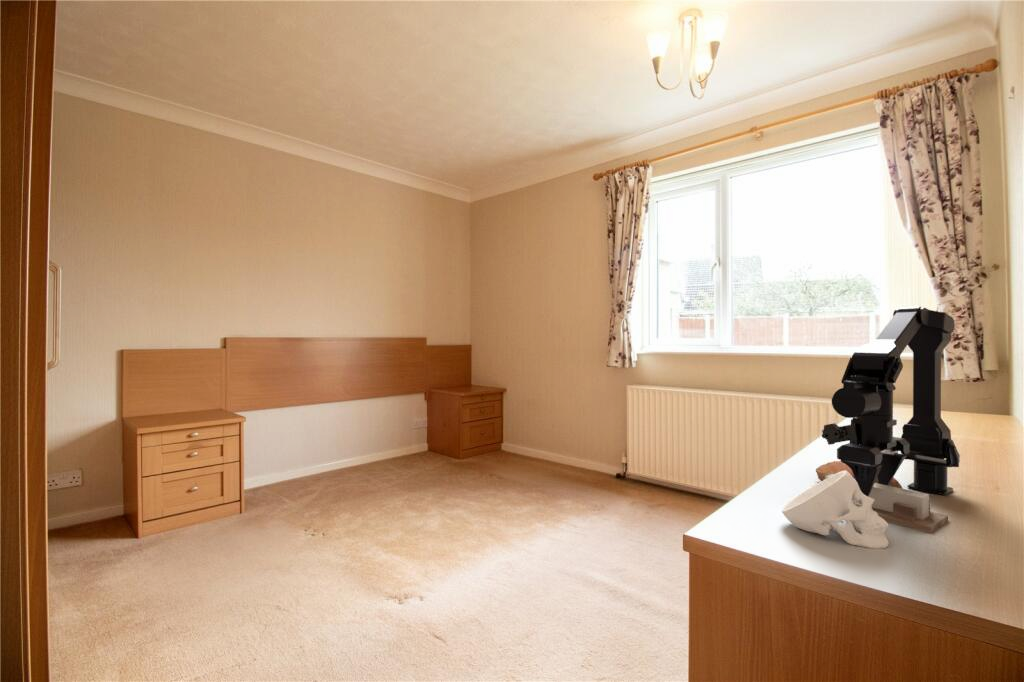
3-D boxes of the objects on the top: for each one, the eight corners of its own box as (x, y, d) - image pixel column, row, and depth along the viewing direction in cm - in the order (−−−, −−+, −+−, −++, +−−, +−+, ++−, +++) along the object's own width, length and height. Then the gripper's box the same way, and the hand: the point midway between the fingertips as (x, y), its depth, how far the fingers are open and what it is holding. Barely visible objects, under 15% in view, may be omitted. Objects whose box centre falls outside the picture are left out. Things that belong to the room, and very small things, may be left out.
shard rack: (828, 491, 105) (828, 476, 105) (948, 520, 88) (948, 502, 88) (807, 500, 99) (807, 483, 99) (930, 533, 83) (930, 513, 83)
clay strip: (832, 492, 101) (832, 473, 101) (928, 515, 88) (928, 494, 88) (824, 495, 99) (825, 476, 99) (922, 519, 86) (922, 497, 86)
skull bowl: (902, 551, 72) (849, 476, 76) (811, 575, 80) (768, 505, 84) (904, 530, 80) (856, 462, 84) (821, 553, 88) (781, 490, 92)
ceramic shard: (804, 451, 121) (870, 463, 118) (801, 476, 121) (868, 489, 117) (830, 458, 107) (906, 471, 104) (827, 486, 106) (903, 501, 103)
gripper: (847, 405, 106) (847, 475, 106) (807, 412, 95) (807, 490, 95) (910, 411, 96) (910, 488, 96) (874, 420, 86) (873, 506, 86)
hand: (873, 492), depth 94 cm, fingers open, 9 cm apart
